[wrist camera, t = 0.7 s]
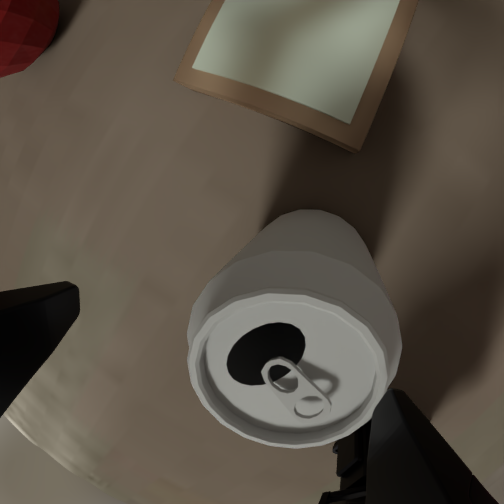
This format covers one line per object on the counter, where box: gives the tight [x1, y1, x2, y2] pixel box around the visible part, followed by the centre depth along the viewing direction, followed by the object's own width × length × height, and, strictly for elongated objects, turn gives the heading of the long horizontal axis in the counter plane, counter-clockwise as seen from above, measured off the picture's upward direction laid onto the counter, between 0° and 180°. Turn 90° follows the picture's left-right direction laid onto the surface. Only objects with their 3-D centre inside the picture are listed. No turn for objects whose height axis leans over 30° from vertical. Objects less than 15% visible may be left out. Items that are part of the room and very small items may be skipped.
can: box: [187, 209, 402, 448], centre depth 14 cm, size 8×8×12 cm
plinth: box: [173, 0, 419, 154], centre depth 14 cm, size 11×11×3 cm
